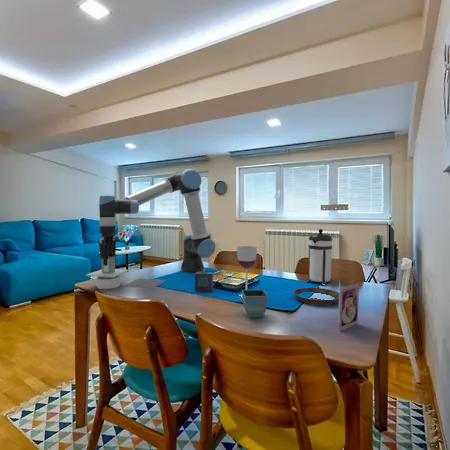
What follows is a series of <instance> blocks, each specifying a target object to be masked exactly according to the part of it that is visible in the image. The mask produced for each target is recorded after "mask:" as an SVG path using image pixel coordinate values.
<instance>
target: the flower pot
mask: <svg viewBox="0 0 450 450" xmlns="http://www.w3.org/2000/svg"><path fill="white" fill-rule="evenodd" d="M241 294H242V299H241V300H242V304H243V308H244V310H245V313H246V315H247V317H248V318H250V319H251V318H253V319H254V318H263V316H264V315H265V313H266V311H267V305H268V298H269V295H268V294H267V292H266V291H265V290H264V289H247V290H245V289H242V290H241Z"/></svg>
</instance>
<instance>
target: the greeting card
mask: <svg viewBox="0 0 450 450" xmlns="http://www.w3.org/2000/svg"><path fill="white" fill-rule="evenodd" d="M338 285H339V287H338V293H339V300H338V309H337V310H338V311H337V312H338V313H337V315H338V317H337V322H338V323H339V324H338V330H341V331H343V330H342V329H344V328H346V327H349V326H351V325H354V324H356V323H359V300H360V299H359V296H360V294H359V293H360V283H359V282H357V283H354V284H350V285H346V286H342V287H341V280H340V279H339V281H338ZM356 325H357V324H356ZM354 326H355V325H354ZM351 327H352V326H351ZM349 328H350V327H349ZM346 329H347V328H346ZM344 330H345V329H344Z"/></svg>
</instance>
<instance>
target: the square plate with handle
mask: <svg viewBox="0 0 450 450" xmlns="http://www.w3.org/2000/svg"><path fill="white" fill-rule="evenodd" d="M100 259H101V258H100ZM108 259H109V272H104V265H103V264H104V263H103V259H101V260H100V261H101V269H99V270H96V271H92V272H90V273H89V272H88V273H87V274H85V276H86V277H116V276H118V275H119V276H120V275H123V274H126V273H127V272H129V271H130V269H121V268H120V269H118V268H116V261H115V260H116V256H115V257H111V256H108Z"/></svg>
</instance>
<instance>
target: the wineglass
mask: <svg viewBox="0 0 450 450" xmlns="http://www.w3.org/2000/svg"><path fill="white" fill-rule="evenodd" d="M257 254H258V248H257V247H256V246H252V245H251V246H249V245H240V246H237V247H236V256H237V261H238V262H237V263H238V264H239V265H240V266H241V267H242V268H243V269H245V289H244V290H248V277H249V276H248V271H249V269H250V268H251V267H253V266H254V265H255V263H256V260H257ZM240 294H241V295H239V294H238V295H239V296H241V297H242V293H240Z"/></svg>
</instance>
